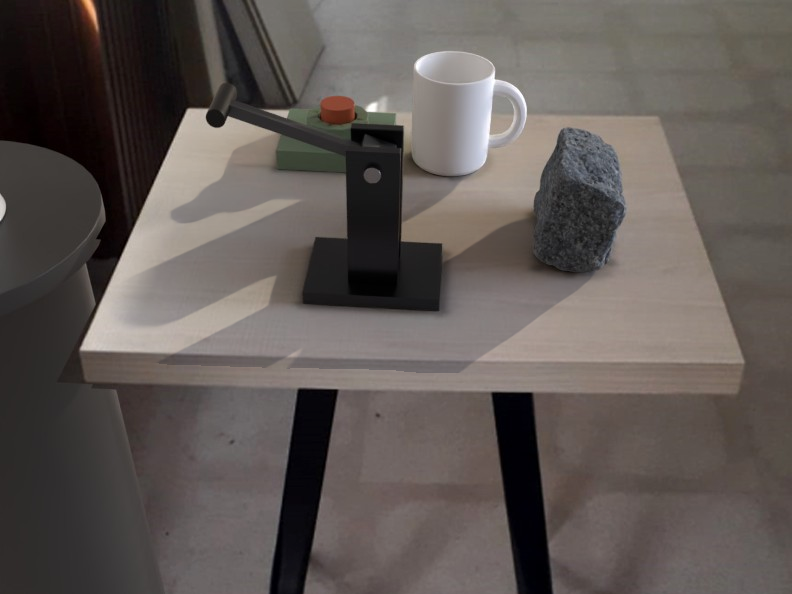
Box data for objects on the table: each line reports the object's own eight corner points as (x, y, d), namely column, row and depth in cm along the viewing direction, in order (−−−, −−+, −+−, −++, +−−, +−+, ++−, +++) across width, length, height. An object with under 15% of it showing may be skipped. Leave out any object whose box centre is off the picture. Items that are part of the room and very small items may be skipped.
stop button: (319, 125, 101) (318, 109, 100) (323, 110, 104) (322, 94, 103) (352, 126, 101) (352, 111, 100) (356, 111, 104) (356, 96, 103)
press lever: (202, 129, 75) (208, 101, 74) (215, 101, 79) (221, 75, 78) (384, 190, 78) (394, 165, 76) (388, 161, 82) (397, 136, 80)
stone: (521, 205, 97) (533, 112, 90) (597, 207, 97) (614, 114, 90) (533, 276, 88) (547, 178, 81) (618, 278, 88) (638, 180, 81)
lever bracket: (302, 303, 84) (294, 160, 75) (315, 247, 90) (309, 109, 81) (439, 311, 83) (447, 168, 74) (442, 254, 90) (450, 116, 81)
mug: (519, 144, 107) (529, 53, 100) (523, 181, 101) (534, 87, 94) (411, 140, 107) (414, 49, 100) (409, 176, 101) (412, 82, 94)
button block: (277, 169, 101) (274, 134, 99) (291, 126, 109) (289, 92, 106) (389, 174, 101) (390, 139, 98) (396, 131, 108) (396, 97, 106)
